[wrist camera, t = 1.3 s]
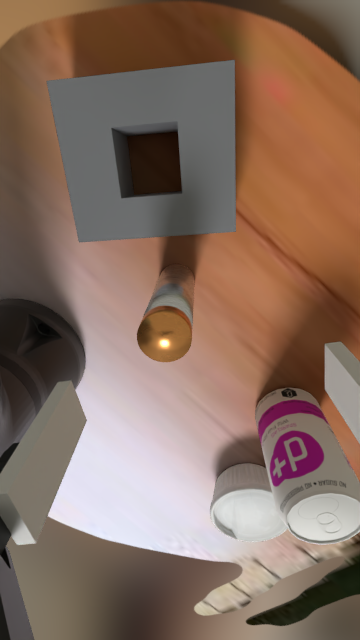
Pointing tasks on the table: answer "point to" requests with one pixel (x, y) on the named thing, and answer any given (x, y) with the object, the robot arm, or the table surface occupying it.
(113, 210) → the block
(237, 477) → the ramekin
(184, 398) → the table surface
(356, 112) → the table surface
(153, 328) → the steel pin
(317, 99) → the table surface
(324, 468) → the supplement can
